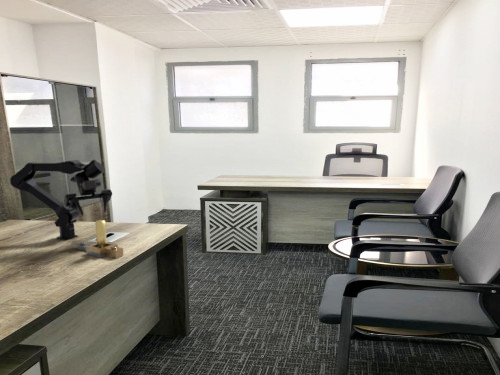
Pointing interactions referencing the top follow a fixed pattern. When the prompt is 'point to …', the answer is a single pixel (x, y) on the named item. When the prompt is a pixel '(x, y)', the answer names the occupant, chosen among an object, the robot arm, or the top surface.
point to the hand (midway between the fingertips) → (94, 213)
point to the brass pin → (101, 233)
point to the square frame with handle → (101, 250)
